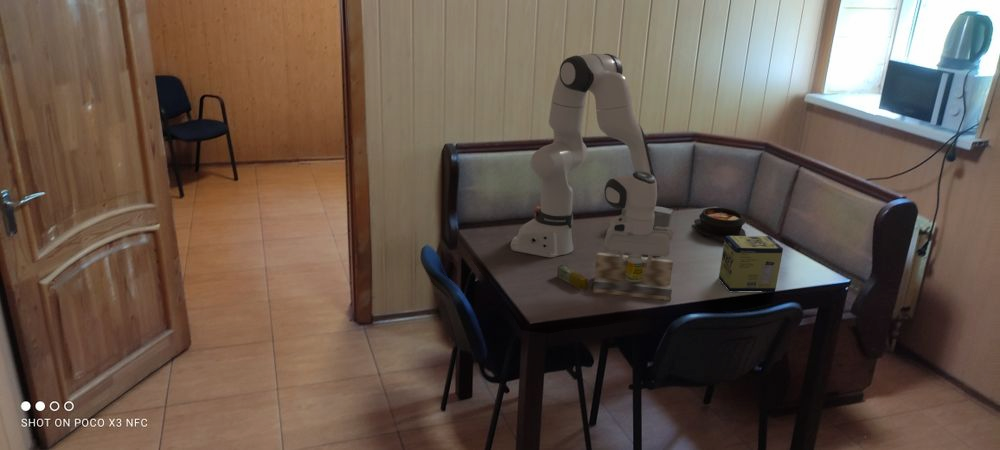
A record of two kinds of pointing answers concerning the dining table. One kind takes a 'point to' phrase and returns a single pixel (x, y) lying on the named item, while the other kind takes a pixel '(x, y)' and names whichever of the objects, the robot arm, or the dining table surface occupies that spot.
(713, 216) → the casserole
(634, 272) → the supplement bottle
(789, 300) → the dining table surface
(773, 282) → the protein box
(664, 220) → the skincare box
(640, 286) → the cleat board
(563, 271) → the medication box
